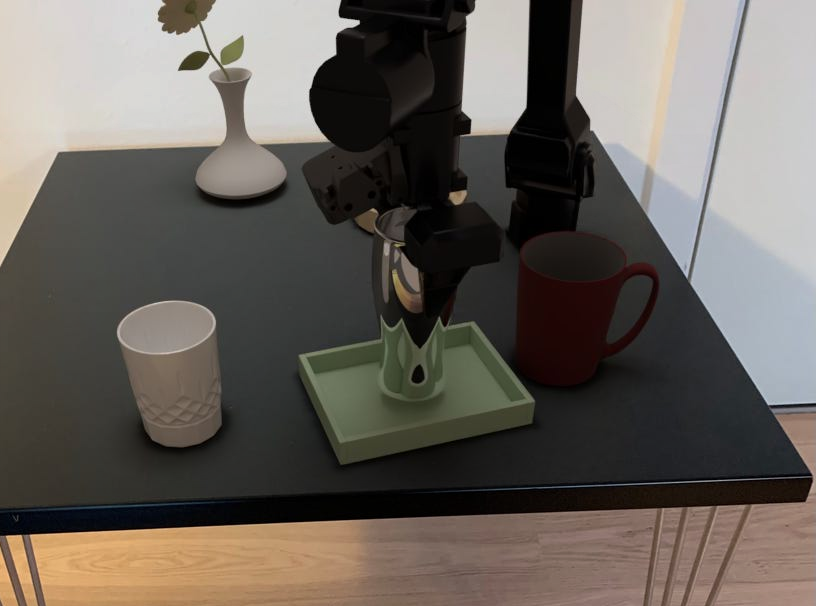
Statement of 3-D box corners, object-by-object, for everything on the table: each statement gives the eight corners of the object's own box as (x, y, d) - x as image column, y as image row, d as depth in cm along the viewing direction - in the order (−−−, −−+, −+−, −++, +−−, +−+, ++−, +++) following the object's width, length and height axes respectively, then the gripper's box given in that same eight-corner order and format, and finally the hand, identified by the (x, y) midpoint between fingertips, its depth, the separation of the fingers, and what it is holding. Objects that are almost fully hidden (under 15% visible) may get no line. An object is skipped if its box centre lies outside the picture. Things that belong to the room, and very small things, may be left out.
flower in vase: (268, 163, 119) (250, -52, 102) (301, 196, 112) (287, -30, 95) (173, 183, 116) (138, -37, 99) (200, 219, 108) (167, -13, 91)
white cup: (142, 400, 82) (121, 303, 75) (229, 393, 82) (216, 297, 75) (135, 456, 76) (112, 357, 69) (229, 449, 76) (215, 350, 69)
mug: (634, 341, 86) (659, 234, 79) (644, 397, 80) (672, 286, 72) (507, 334, 88) (519, 229, 80) (507, 388, 81) (520, 279, 74)
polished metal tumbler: (446, 409, 76) (457, 248, 66) (365, 401, 77) (363, 241, 67) (455, 361, 81) (466, 205, 71) (379, 355, 82) (379, 199, 72)
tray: (472, 342, 87) (474, 320, 85) (532, 423, 77) (535, 401, 76) (299, 376, 84) (298, 354, 82) (340, 465, 74) (339, 442, 73)
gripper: (277, 71, 68) (291, 258, 79) (350, 169, 55) (355, 378, 65) (416, 52, 70) (411, 237, 81) (519, 142, 57) (497, 349, 67)
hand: (415, 294), depth 73 cm, fingers closed on polished metal tumbler, 7 cm apart
